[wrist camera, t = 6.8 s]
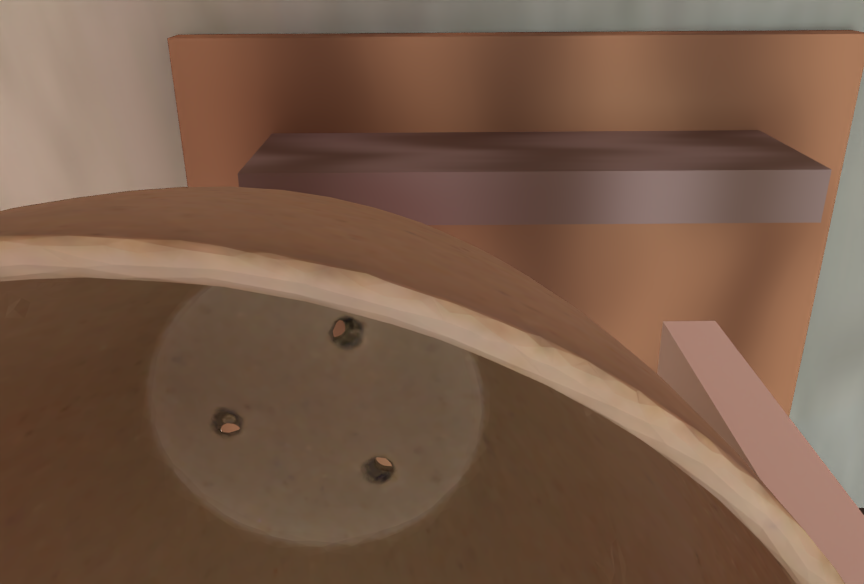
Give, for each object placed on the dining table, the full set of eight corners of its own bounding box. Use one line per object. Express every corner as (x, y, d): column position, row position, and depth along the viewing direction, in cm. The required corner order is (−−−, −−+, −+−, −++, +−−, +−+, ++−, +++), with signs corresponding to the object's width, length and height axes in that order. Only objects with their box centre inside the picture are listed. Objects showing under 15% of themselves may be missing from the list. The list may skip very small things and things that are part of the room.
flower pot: (382, 713, 15) (334, 1321, 8) (-112, 427, 12) (-748, 963, 6) (790, 357, 12) (1244, 870, 5) (238, -117, 9) (-272, -321, 3)
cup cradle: (247, 556, 34) (211, 677, 28) (178, 34, 25) (106, 59, 20) (744, 553, 34) (808, 673, 28) (851, 30, 25) (973, 53, 20)
